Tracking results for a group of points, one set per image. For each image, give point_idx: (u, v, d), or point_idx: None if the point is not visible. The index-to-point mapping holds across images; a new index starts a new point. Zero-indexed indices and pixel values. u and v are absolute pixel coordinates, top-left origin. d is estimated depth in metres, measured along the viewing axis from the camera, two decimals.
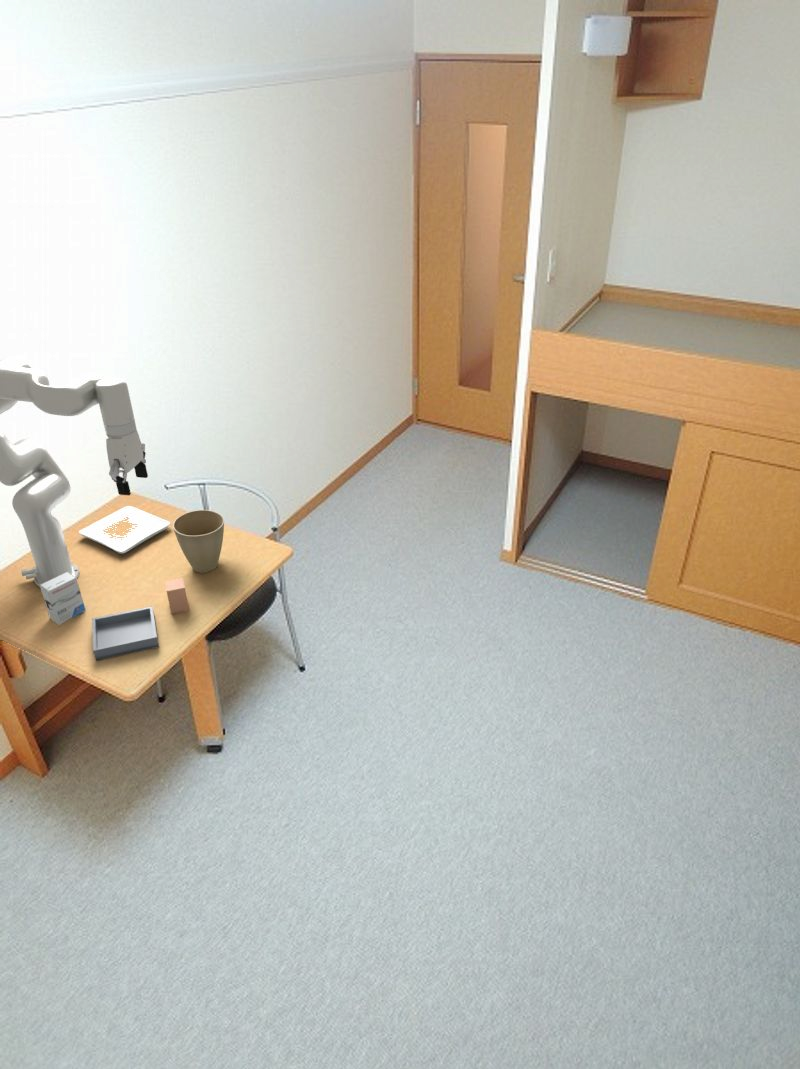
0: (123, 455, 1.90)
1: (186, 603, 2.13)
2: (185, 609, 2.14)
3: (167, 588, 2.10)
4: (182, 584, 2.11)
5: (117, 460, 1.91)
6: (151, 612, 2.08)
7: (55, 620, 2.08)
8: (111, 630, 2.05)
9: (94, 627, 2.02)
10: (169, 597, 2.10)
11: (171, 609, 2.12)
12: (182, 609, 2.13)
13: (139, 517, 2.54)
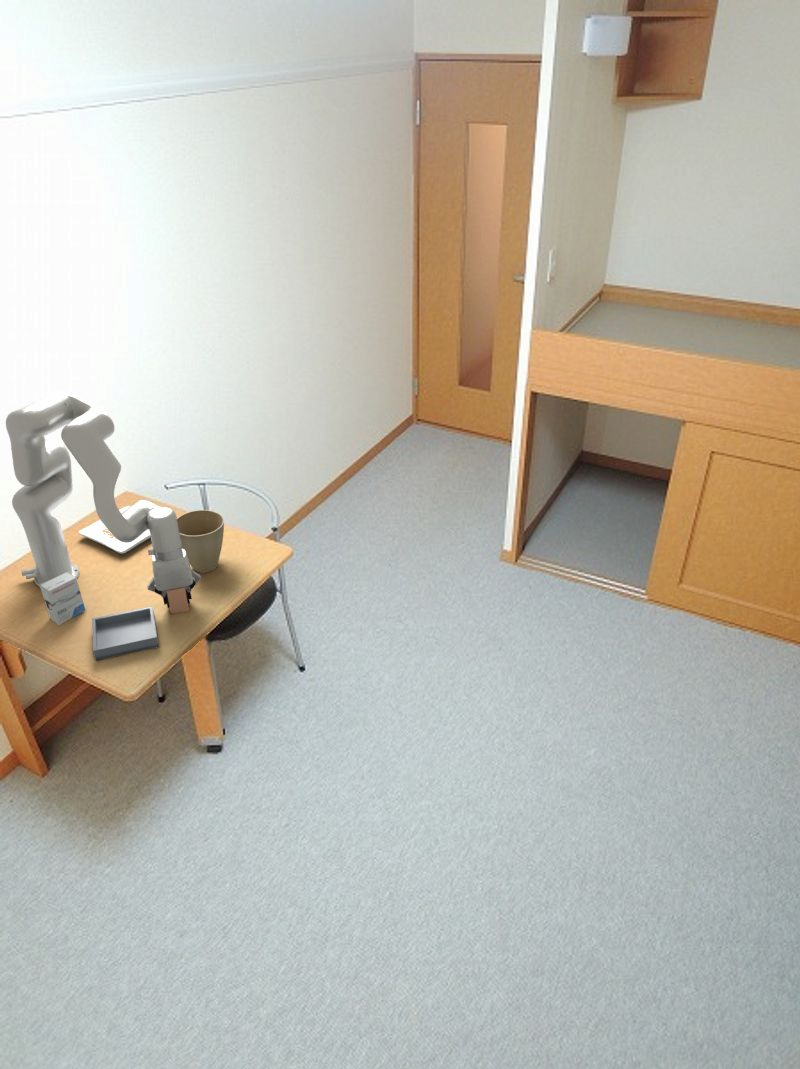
0: None
1: (186, 603, 2.13)
2: (185, 609, 2.14)
3: None
4: None
5: None
6: (151, 612, 2.08)
7: (55, 620, 2.08)
8: (111, 630, 2.05)
9: (94, 627, 2.02)
10: (169, 597, 2.10)
11: (171, 609, 2.12)
12: (182, 609, 2.13)
13: None
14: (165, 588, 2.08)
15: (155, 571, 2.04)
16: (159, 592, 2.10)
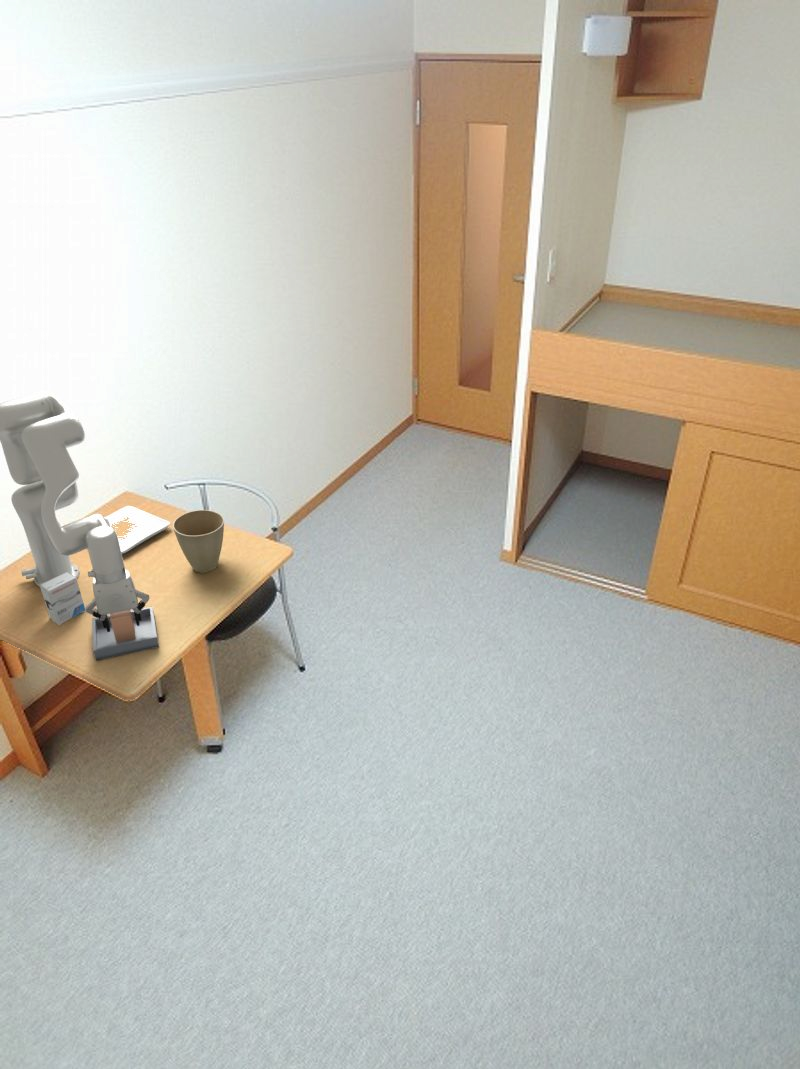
0: None
1: (132, 631, 2.01)
2: (131, 637, 2.02)
3: (111, 616, 1.98)
4: (127, 611, 1.99)
5: (135, 589, 1.98)
6: (151, 612, 2.08)
7: (55, 620, 2.08)
8: (111, 630, 2.05)
9: (94, 627, 2.02)
10: (113, 625, 1.98)
11: (116, 638, 2.00)
12: (128, 637, 2.01)
13: (139, 517, 2.54)
14: (107, 612, 1.95)
15: (96, 594, 1.91)
16: (98, 615, 1.97)
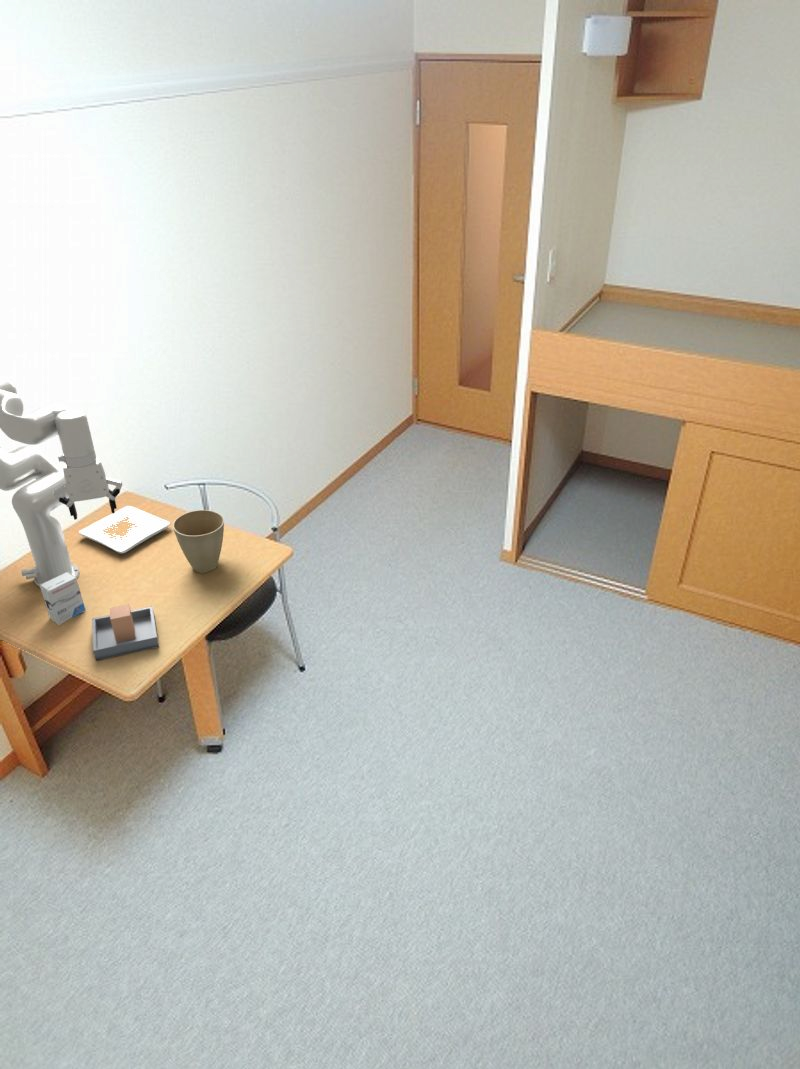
0: None
1: (132, 631, 2.01)
2: (131, 637, 2.02)
3: (111, 616, 1.98)
4: (127, 611, 1.99)
5: (106, 477, 2.00)
6: (151, 612, 2.08)
7: (55, 620, 2.08)
8: (111, 630, 2.05)
9: (94, 627, 2.02)
10: (113, 625, 1.98)
11: (116, 638, 2.00)
12: (128, 637, 2.01)
13: (139, 517, 2.54)
14: (78, 498, 1.97)
15: (66, 479, 1.94)
16: (66, 500, 1.98)
